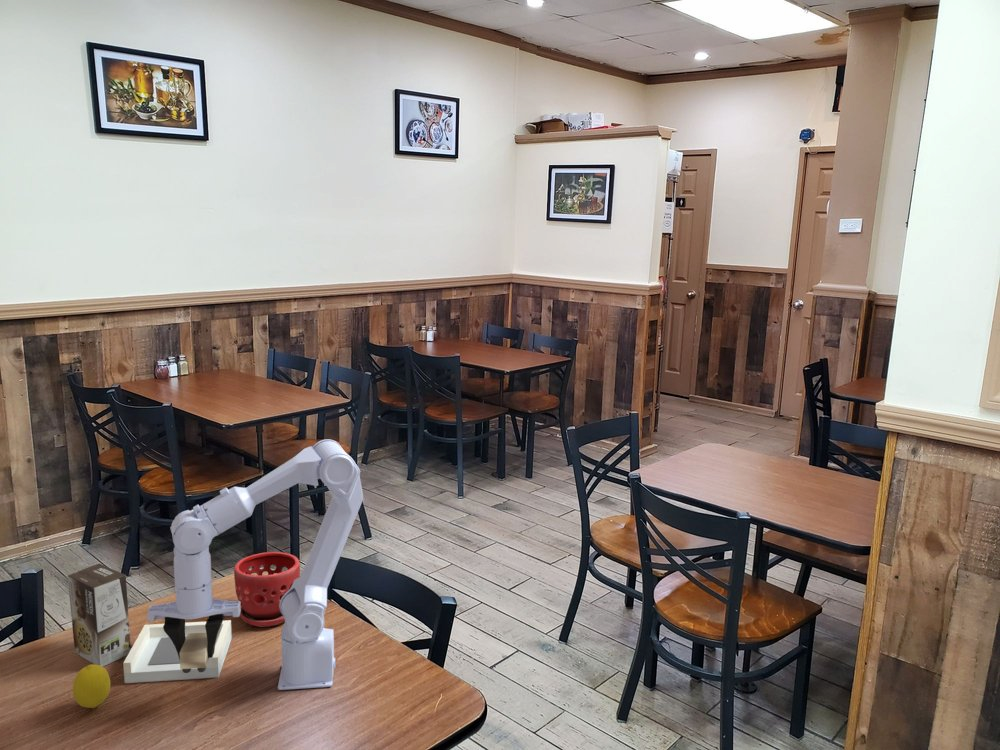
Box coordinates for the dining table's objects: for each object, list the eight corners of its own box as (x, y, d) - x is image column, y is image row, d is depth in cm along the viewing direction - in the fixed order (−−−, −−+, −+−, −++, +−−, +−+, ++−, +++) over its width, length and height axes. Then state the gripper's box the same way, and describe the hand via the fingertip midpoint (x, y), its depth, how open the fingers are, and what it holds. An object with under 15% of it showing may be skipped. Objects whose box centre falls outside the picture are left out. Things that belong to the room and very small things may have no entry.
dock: (231, 638, 148) (230, 620, 147) (218, 677, 135) (217, 657, 135) (145, 643, 145) (144, 624, 144) (124, 683, 133) (123, 663, 132)
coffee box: (133, 653, 142) (127, 574, 139) (99, 669, 136) (93, 588, 133) (105, 637, 147) (100, 561, 143) (72, 652, 141) (66, 574, 138)
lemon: (103, 693, 130) (100, 651, 128) (117, 707, 126) (114, 664, 125) (69, 708, 125) (65, 665, 124) (83, 722, 122) (79, 679, 120)
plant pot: (312, 615, 158) (312, 562, 155) (257, 639, 148) (255, 583, 146) (278, 594, 166) (277, 544, 164) (223, 615, 156) (221, 562, 154)
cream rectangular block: (213, 653, 131) (212, 632, 130) (205, 674, 125) (204, 651, 124) (189, 655, 130) (188, 633, 129) (180, 675, 124) (179, 652, 123)
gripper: (242, 569, 129) (245, 640, 132) (154, 572, 127) (158, 645, 130) (235, 588, 123) (238, 662, 125) (141, 592, 120) (146, 668, 123)
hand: (197, 655), depth 127 cm, fingers closed on cream rectangular block, 4 cm apart
